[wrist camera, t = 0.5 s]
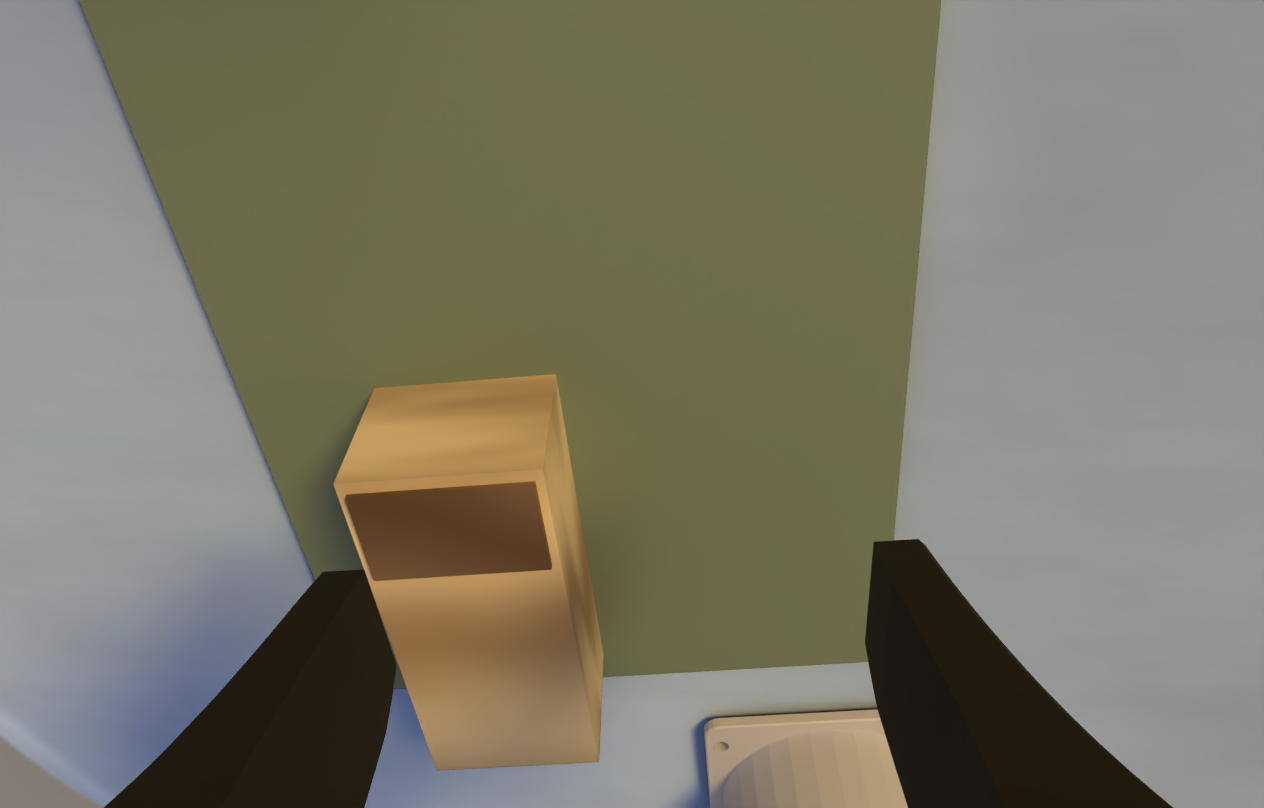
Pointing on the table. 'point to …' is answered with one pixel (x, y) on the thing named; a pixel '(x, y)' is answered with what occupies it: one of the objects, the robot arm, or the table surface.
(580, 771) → the table surface
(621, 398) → the rubber mat
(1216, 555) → the table surface
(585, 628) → the wooden cubby box
